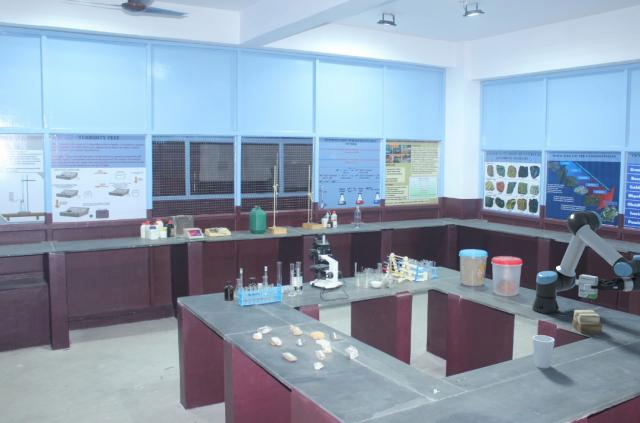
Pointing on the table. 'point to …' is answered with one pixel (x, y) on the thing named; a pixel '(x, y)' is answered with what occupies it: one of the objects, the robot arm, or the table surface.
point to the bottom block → (587, 327)
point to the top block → (586, 317)
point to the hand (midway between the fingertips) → (580, 284)
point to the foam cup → (543, 350)
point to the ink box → (587, 292)
